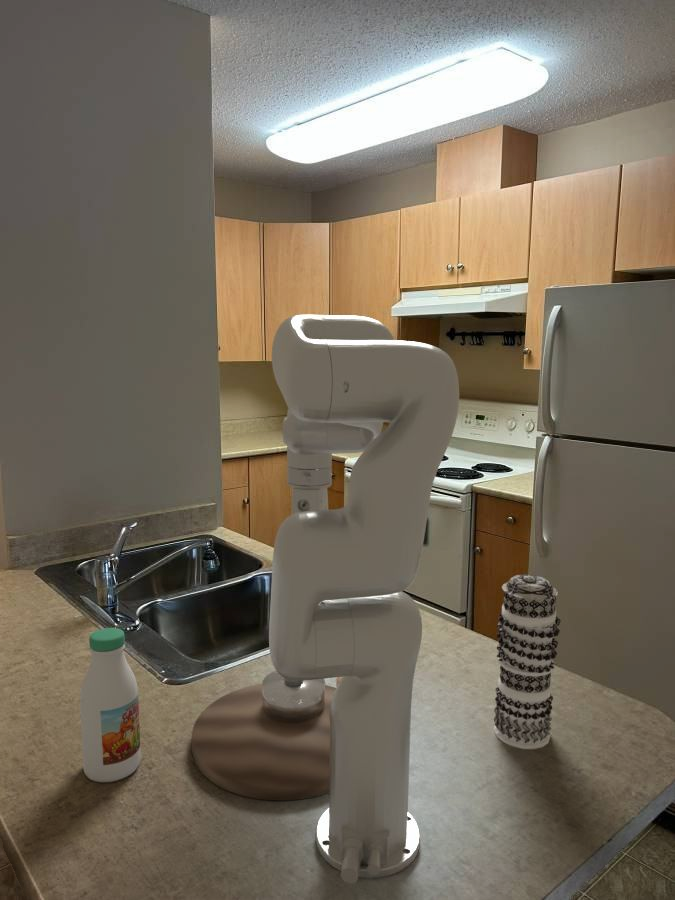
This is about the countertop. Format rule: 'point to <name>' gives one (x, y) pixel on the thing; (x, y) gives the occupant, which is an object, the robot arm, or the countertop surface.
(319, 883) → the countertop surface
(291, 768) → the turntable
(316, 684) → the lid
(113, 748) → the milk bottle
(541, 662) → the decorative candle
